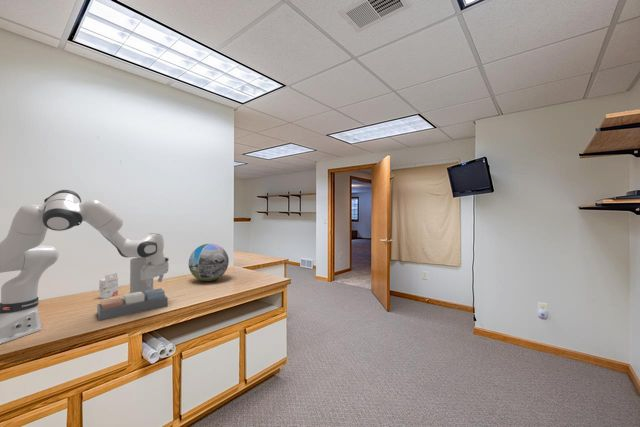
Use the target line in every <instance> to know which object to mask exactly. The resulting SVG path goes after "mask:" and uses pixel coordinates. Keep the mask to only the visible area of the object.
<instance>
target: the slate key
mask: <svg viewBox="0 0 640 427" xmlns="http://www.w3.org/2000/svg"><path fill="white" fill-rule="evenodd" d="M164 295H165V290H164V289H163V288H161V287H160V288H153V290H147V291H145V299H146V300H147V301H148V300H153V299H158V298H163V297H164Z"/></svg>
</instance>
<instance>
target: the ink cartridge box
mask: <svg viewBox="0 0 640 427" xmlns="http://www.w3.org/2000/svg"><path fill="white" fill-rule="evenodd" d="M118 280H119V278H118V272H115V273H111V274H106V275H105V276H104V278H102V279H99V287H98V288H99V291H98V292H99V299H105V300H107V299H109V298H112V297H115V296H118V294H119V291H118V289H119V288H118V287H119V285H118V284H119V282H118Z"/></svg>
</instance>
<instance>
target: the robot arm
mask: <svg viewBox="0 0 640 427" xmlns="http://www.w3.org/2000/svg"><path fill="white" fill-rule="evenodd" d="M43 200H44V201H43V202H44V203H41V204H38V203H27V204H25V205H22V206H21V207H20V208H19V209H18V211H17V212H15V215H14V216H13V219H12V221H11V225H10V227H9V230H8V233H7V235H6V236H5V238H4V239H3V240H2V241H0V273H8V272H10V273H11V272H16V271H20V272H19V273H18V275H17V276H15V277H13V278H11V279H9V280H7V281H6V282H4V283H3V284H2V285H1V288H0V345H1V344H5V343H9V342H10V341H14V340H16V339H20V338H22V337H25V336H28V335H30V334H31V335H32V334H33V333H37V332H39V331H41V330H42V327H43V324H42V322H41V320H40V315H39V308H38V306H39V297H38V290H39V288H38V287H39V281H40V279H41V276H42V275H43V274H44V273H45V272H46V271H47V269H48V268H50V267H51V266H52V265H53V266H54V264H55V263H56V262H57V261H58V259H59V256H60V254H59V251H58V249H57V248H56V247H55V246H53V245H44V244H42V243H43V242H44V240H45V237H46V235H47V231H48V229H49V230H52V231H56V232H57V231H58V232H63V231H67V230H70V229H72V228H74V227H78V226H80V225H81V224H82V223H83V222H86V223H87V224H88V225H90V226H91V227H92V228H94V229H95V230H97V231H98V232H99V233H100V234H101V236H102V237H104V238H105V239H106V240H107V241H108V242H110V243H111V244H112V246H114V247H115V248H116V250H117V252H118V254H119V255H120V256H121V257H123V258H144V257H146V263H145V264H144V265H143V266H142V269H141V275H140V279H141V280H146V283H147V286H148V287H150V286H152V283H151V282H150V281H151V278H153V279H154V278H156V277H158V279H157V282H158V283H162V282H163V279H164V276H165V274H168V272H169V261H170V260H169V259H170V258H169V257H166V256H165V254H164V249H165V246H164V244H165V243H164V242H165V240H164V236H163V235H162V234H160V233H151V232H150V233H148V234H147V236H145V237H143V238H142V239H135V240H134V239H129V238H127V237H125V236H124V235H123V234H122V233H121V232H120V230H121V228H122V227H123V225H124V222H123V221H124V220H123V219H122V217H121V216H120V215H119V214H118V213H117V212H116V211H114V209H112V208H111V207H110V206H108V205H106V204H105V203H104V202H102V201H99V200H97V199H87V200H85V201H84V202H82V199H81V196H80V195H79V193H77V192H76V191H73V190H70V189H60V190H57V191H55V192H54V193H52V194H51V195H50V196H48V197H46V198H45V199H43Z"/></svg>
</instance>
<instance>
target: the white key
mask: <svg viewBox="0 0 640 427" xmlns="http://www.w3.org/2000/svg"><path fill="white" fill-rule="evenodd" d="M123 300H124V303H125V305H127V304H132V303H137V302H142V301H144V294H143V293H142V292H135V293H130V292H129V293H124V294H123Z"/></svg>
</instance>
